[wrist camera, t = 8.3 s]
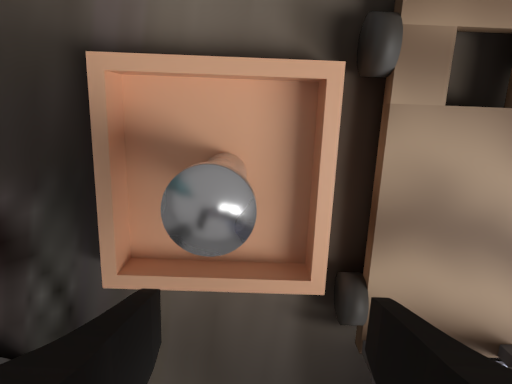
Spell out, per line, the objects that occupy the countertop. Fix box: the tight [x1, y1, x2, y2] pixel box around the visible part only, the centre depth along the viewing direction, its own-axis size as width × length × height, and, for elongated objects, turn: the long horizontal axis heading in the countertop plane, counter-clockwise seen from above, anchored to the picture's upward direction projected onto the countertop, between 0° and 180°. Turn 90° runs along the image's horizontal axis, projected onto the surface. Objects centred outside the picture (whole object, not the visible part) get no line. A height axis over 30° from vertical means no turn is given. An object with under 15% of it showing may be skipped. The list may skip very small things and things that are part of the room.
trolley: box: [334, 0, 512, 384], centre depth 18 cm, size 20×11×6 cm, turn 178°
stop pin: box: [161, 153, 257, 257], centre depth 16 cm, size 3×3×8 cm
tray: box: [86, 51, 346, 295], centre depth 19 cm, size 12×12×3 cm
